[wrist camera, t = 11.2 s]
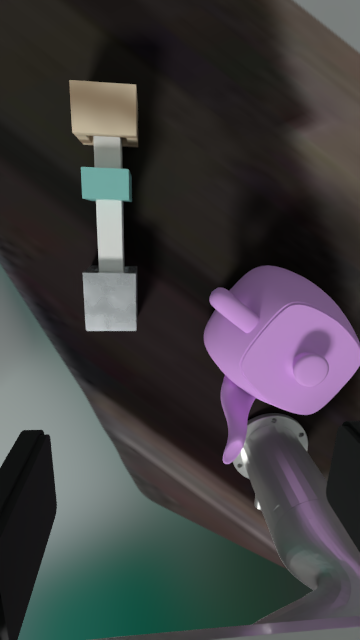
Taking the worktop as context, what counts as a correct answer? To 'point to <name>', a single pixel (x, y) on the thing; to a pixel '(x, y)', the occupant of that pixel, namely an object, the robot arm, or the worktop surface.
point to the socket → (104, 111)
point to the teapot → (277, 347)
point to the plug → (108, 199)
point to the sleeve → (110, 299)
